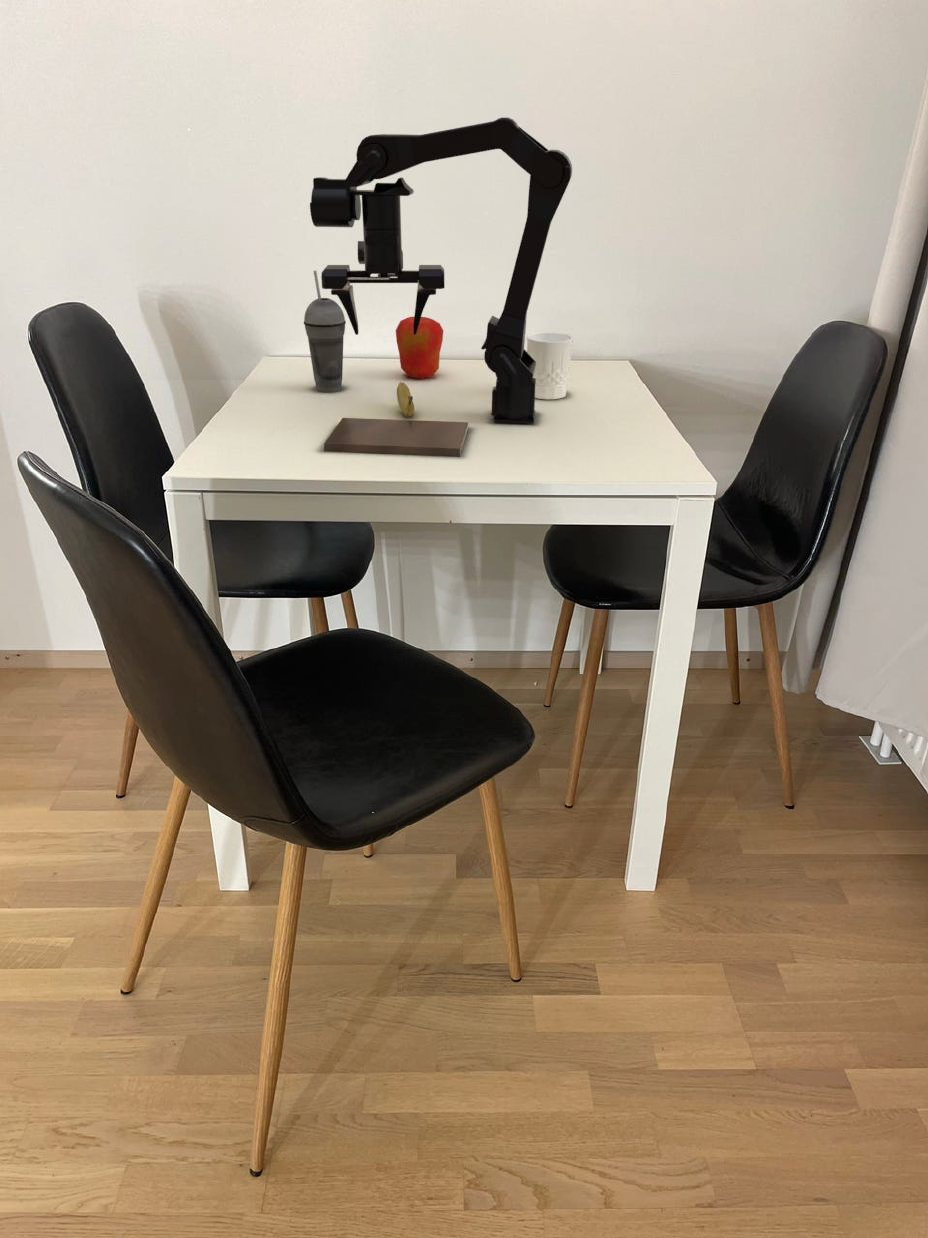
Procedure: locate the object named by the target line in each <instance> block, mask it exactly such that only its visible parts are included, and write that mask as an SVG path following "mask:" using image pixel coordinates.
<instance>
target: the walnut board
mask: <svg viewBox="0 0 928 1238" xmlns="http://www.w3.org/2000/svg"><path fill="white" fill-rule="evenodd" d="M468 431H469V422H468V421H448V420H447V421H445V420H444V421H443V420H418V419H417V420H415V419H389V418H385V419H384V418H364V417H363V418H360V417H342V418H341V419H340V421H339V422H338V423H337V424H336V426H335V428H334V429H333V430H332V431H331V432H330V434H329V436H328V437H327V438H326V440H325V441H324V442H323V451H324V452H336V453H337V452H338V453H340V452H341V453H361V454H363V453H364V454H366V453H367V454H386V455H387V454H390V455H413V456H414V455H416V456H441V457H442V456H443V457H461V454H462V451H463V448H464V444H465V441H466V437H467V434H468Z"/></svg>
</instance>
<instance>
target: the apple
mask: <svg viewBox="0 0 928 1238" xmlns="http://www.w3.org/2000/svg"><path fill="white" fill-rule="evenodd" d="M413 324H414V316H409V317H406V318H404V319H401V320H400V321H399V323H398V325H397V327H396V329H395V339H396V340H395V341H396V345H397V350H398V354H399V363H400V364H399V365H400V369H401V370H402V371H403V372H404V373H405V374H406V375H407V376H408V377H411V378H415V379H427V378H432V377H434V376H435V374H436V373H437V372H438V370H439V369H440V357H441V355H440V354H441V349H442V345H443V340H444V329H443V327H442V325H441V323H440V322H438V321H436V320H435V319H433V318H430V317H427V316H421V319H420V322H419V326H418V330H417V333H416V335H414V330H413Z"/></svg>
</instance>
